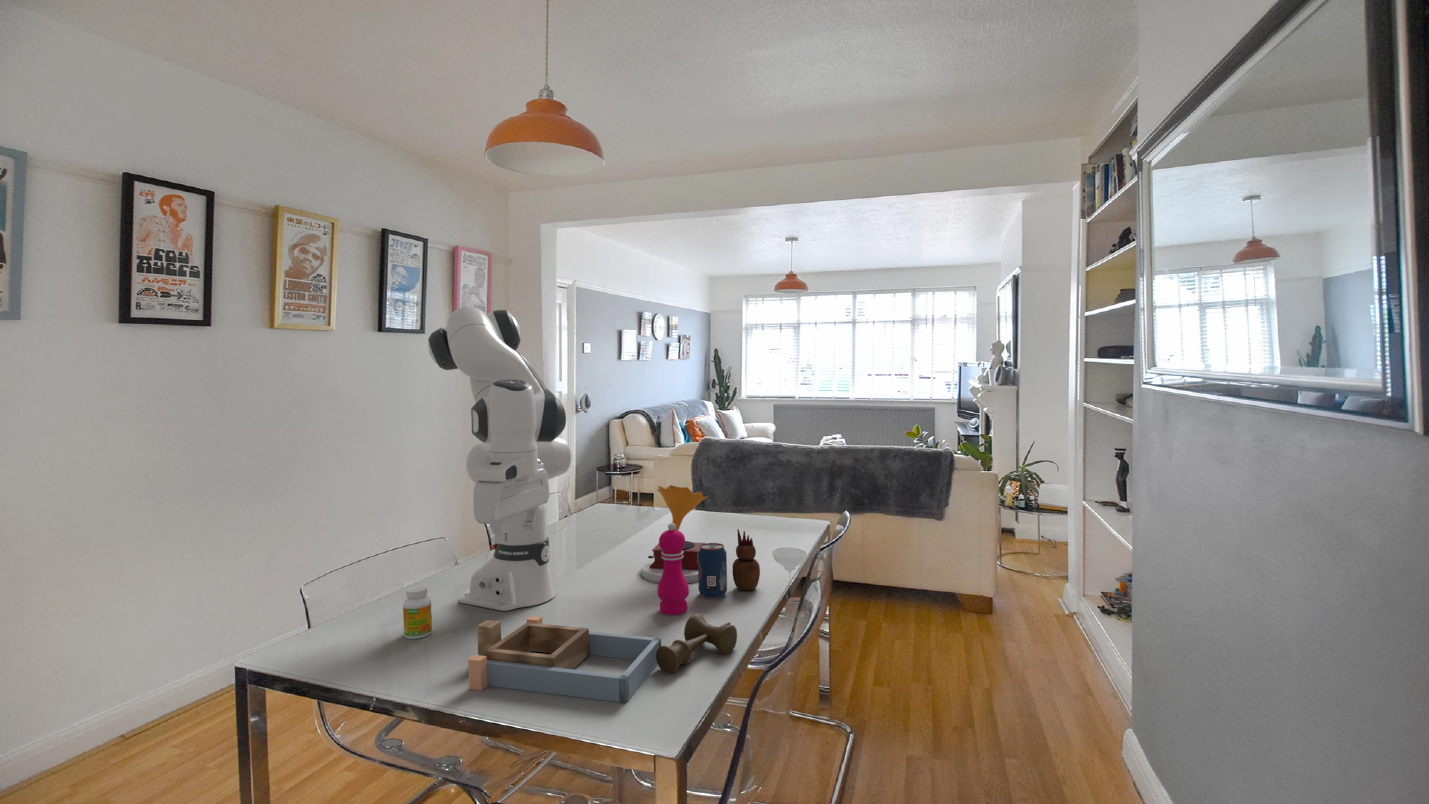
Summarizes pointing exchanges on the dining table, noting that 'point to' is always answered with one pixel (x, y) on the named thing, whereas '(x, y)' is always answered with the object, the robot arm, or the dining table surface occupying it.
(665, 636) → the dining table surface
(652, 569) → the gramophone
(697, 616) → the kendama
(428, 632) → the supplement bottle
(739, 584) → the wooden figurine
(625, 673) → the frame
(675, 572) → the pepper mill
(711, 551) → the soda can
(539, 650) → the wooden square frame
